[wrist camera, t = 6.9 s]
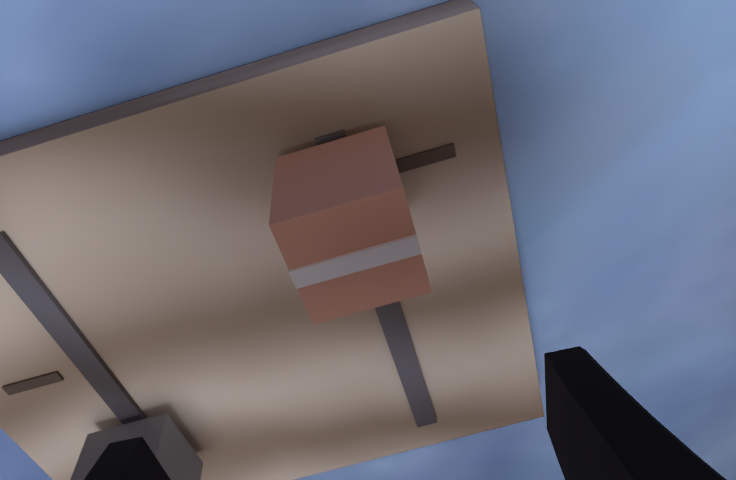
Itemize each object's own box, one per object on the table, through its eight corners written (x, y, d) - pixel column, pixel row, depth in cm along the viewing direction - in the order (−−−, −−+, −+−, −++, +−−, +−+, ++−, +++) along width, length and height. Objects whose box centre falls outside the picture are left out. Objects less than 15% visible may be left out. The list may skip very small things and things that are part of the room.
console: (531, 387, 24) (545, 420, 23) (111, 495, 26) (100, 532, 24) (465, -4, 15) (481, 9, 14) (-170, 193, 17) (-214, 224, 15)
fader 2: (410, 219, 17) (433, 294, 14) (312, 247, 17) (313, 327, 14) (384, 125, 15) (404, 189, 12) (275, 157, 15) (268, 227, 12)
